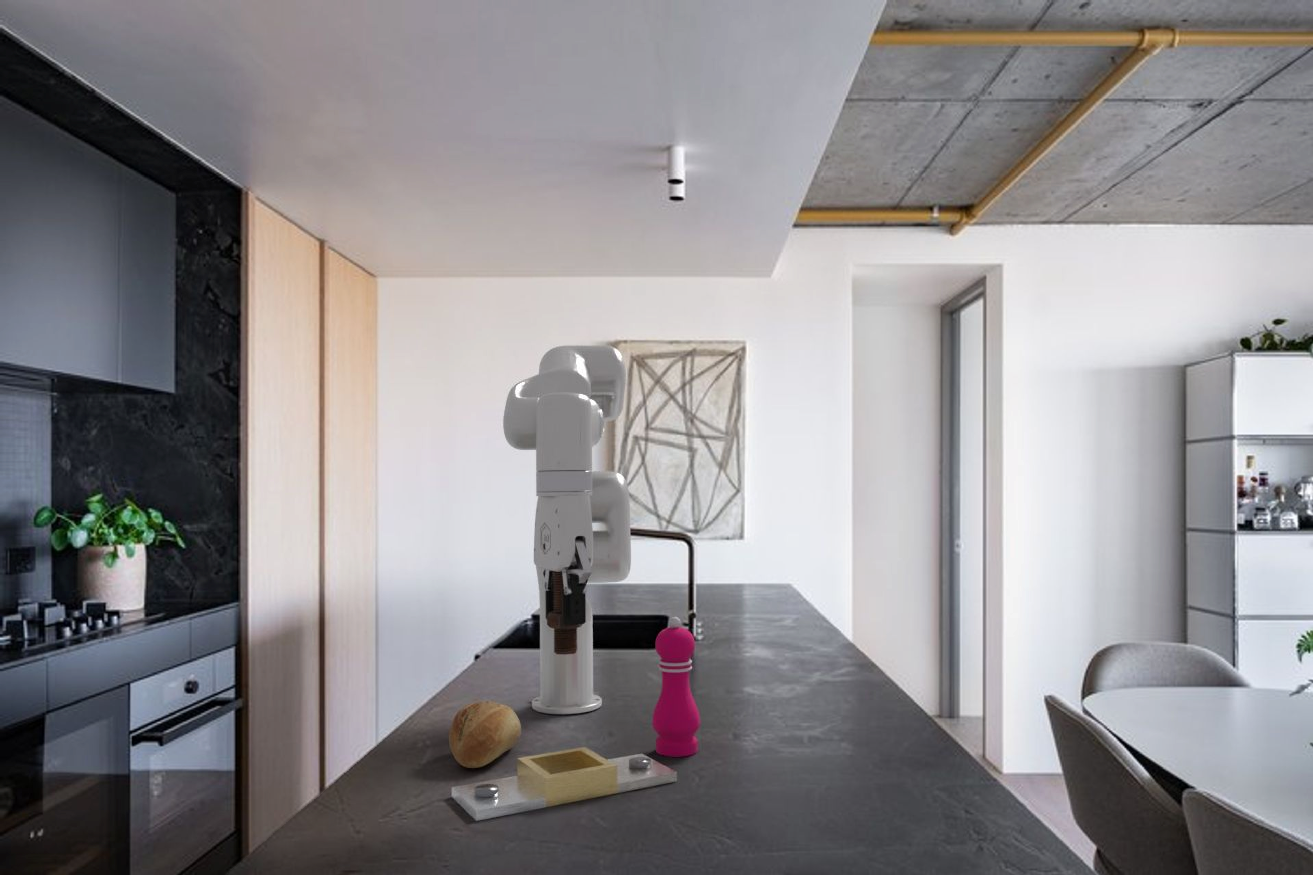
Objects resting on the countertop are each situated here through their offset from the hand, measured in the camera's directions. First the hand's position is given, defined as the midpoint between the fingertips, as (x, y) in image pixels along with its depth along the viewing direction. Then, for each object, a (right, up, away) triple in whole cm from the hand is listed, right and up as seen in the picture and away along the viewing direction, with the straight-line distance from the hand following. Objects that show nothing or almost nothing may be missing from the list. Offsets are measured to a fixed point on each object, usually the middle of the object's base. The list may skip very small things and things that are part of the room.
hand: (565, 620), depth 122 cm
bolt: (0, -5, 0) cm, 5 cm away
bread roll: (-13, -23, +13) cm, 30 cm away
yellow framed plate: (0, -22, -1) cm, 22 cm away
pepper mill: (+15, -23, +15) cm, 31 cm away
